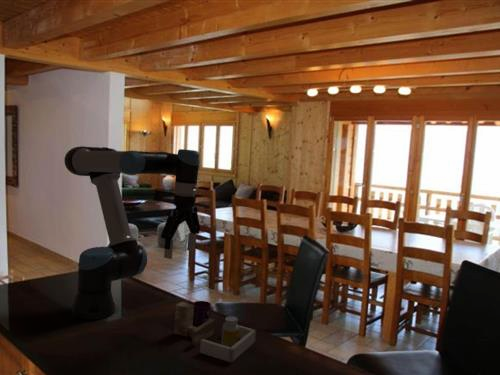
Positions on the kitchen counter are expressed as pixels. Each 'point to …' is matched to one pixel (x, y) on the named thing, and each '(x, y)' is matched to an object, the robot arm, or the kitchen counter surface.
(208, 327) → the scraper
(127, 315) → the kitchen counter surface
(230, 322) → the supplement bottle
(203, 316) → the mug
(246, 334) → the corral
